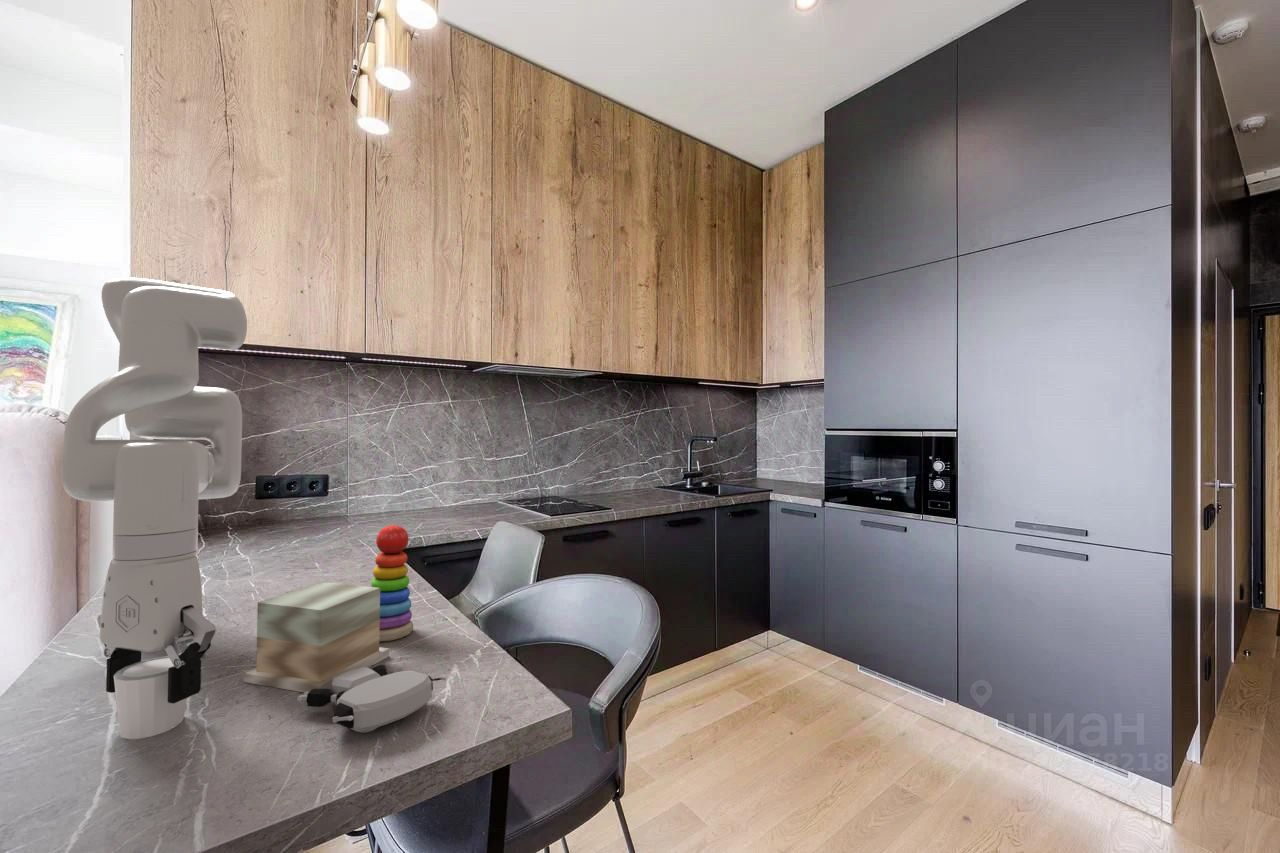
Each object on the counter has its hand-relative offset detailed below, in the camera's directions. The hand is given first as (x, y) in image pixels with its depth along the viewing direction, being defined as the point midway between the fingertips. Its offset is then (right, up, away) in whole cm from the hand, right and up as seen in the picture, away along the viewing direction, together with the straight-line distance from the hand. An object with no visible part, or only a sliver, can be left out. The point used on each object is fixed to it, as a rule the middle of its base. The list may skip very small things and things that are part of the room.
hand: (153, 692), depth 64 cm
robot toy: (+24, -5, +4) cm, 24 cm away
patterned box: (+10, -4, +16) cm, 20 cm away
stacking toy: (+14, -5, +30) cm, 33 cm away
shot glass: (0, -4, 0) cm, 4 cm away
